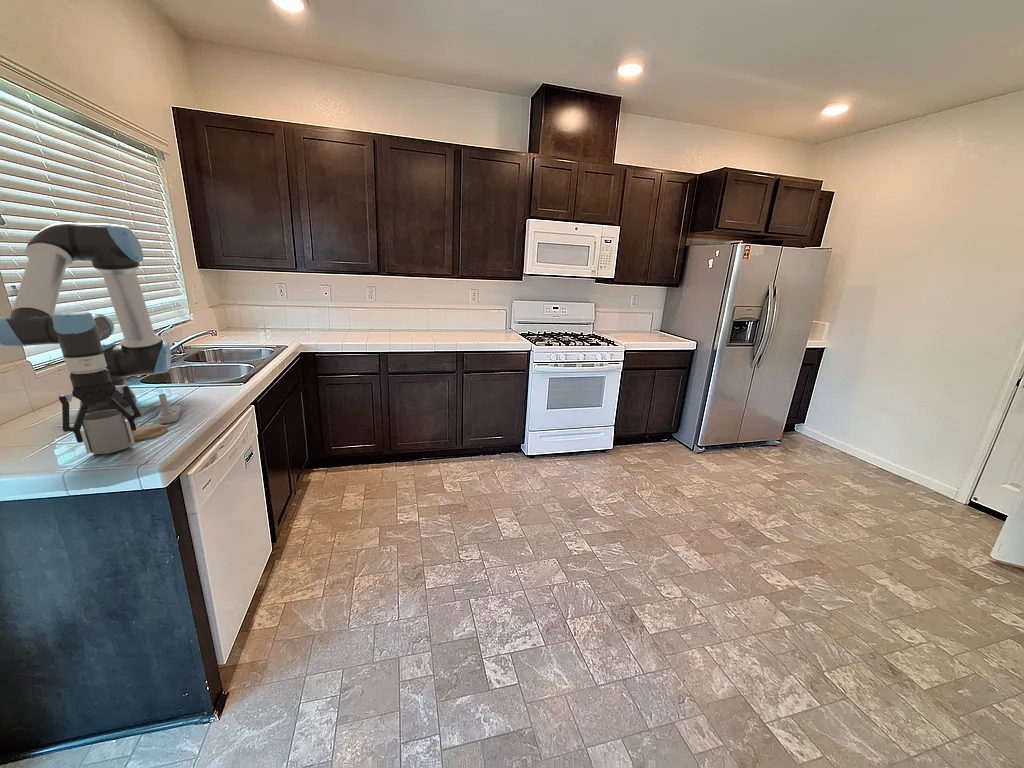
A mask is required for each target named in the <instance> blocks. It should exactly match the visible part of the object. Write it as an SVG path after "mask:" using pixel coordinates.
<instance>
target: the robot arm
mask: <svg viewBox="0 0 1024 768" xmlns="http://www.w3.org/2000/svg"><path fill="white" fill-rule="evenodd" d="M138 239H139V238H137V236H136V234H135V233H134V231H133V230H132V229H131V228H129V227H128V226H126V225H120V224H112V223H92V222H91V223H90V222H87V223H86V222H69V221H68V222H67V221H66V222H57V223H54V224H50V225H49V226H46V227H44V228H43V229H41V230H40V231H38V232H37V233H36V234H35V235H34V236H32V237H31V239H30V240H29V241H28V243H27V245H26V248H25V256H26V258H28V259H27V263H26V265H25V268H24V273H23V275H22V278H21V282H20V284H19V288H18V291H17V294H16V296H15V297H16V298H15V300H14V303H13V307H12V310H11V312H10V315H9V316H8V317H7V316H4V317H0V345H1V346H5V347H27V346H41V345H42V346H43V345H54V344H55V345H59V347H60V351H61V353H62V356H63V361H64V363H65V366H66V369H67V371H68V372H70V373H69V375H68V376H69V379H70V382H71V384H72V385H71V386H72V391H71V392H69V393H65V394H64V393H61V394H58V400H59V401H60V403H61V412H62V415H61V418H62V423H61V424H62V431H63V432H65V433H68V432H71V433H73V434H74V436H75V440H76V442H77V443H83V444H84V448H85V451H86V453H87V454H92V453H91V451H90V448H89V444H88V441H87V438H86V435H85V432H84V429H83V426H82V423H83V420H84V417H85V415H87V413H93V412H98V411H103V410H118V411H119V412H120V413H122V415H123V417H124V420H125V424H126V428H127V431H128V435H129V438H130V442H131V444H134V443H136V442H134V438H133V434H132V431H135V430H136V427H137V426H136V423H135V420H136V419H138V418H141V417H142V413H141V412H140V410H139V408H138V407H137V405H136V402H138V400H137V396H136V394H135V393H134V391H133V390H132V389H131V387H130V386H129V384H127V382H126V379H125V377H134V376H135V377H136V376H144V375H145V376H146V375H156V374H164V373H167V372H169V370H170V369H171V365H172V364H171V363H172V352H171V346H170V344H169V342H166V341H163V340H162V337H161V336H160V335H158V334H156V333H155V331H154V327H153V325H152V321H151V318H150V315H149V311H148V307H147V303H146V302H145V298H144V295H143V292H142V288H141V286H140V285H141V284H140V281H139V278H138V275H137V272H136V271H137V269H139V267H141V266H140V262H143V260H144V254H143V249H142V246H141V243H140V242H139V240H138ZM76 261H77V262H78V261H79V262H82V261H83V262H84V261H85V262H91V264H92V266H93V269H95V270H97V271H99V272H100V273H101V274H102V278H103V281H104V283H105V287H106V289H107V292H108V295H109V297H110V301H111V304H112V308H113V310H114V312H115V315H116V319H117V321H118V323H119V327H120V330H121V333H122V336H123V338H122V339H121V340H120V342H119V344H118V345H117V343H116V342H115V341H113V340H112V341H109V340H108V341H104V340H107V339H108V338H110V336H112V334H113V333H114V331H115V325H114V322H113V321H112V319H110V318H109V317H108V316H106V315H104V314H102V313H90V312H89V311H81V310H80V311H64V312H58V313H57V312H56V313H55V310H56V307H57V303H58V299H59V295H60V292H61V288H62V285H63V284H62V283H63V280H64V276H65V273H66V269H68V268H70V267H71V266H72V264H73V262H76ZM73 398H76V399H78V400H79V409H78V411H77V414H76V417H75V420H74V423H73V425H71V424H70V402H72V399H73ZM126 407H130V408H131V410H132V412H133V413H132V414H131V413H130V412H128V410H127V409H126Z"/></svg>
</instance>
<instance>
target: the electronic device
mask: <svg viewBox="0 0 1024 768" xmlns="http://www.w3.org/2000/svg"><path fill="white" fill-rule="evenodd" d="M158 399H159V402H160V403H159V404H160V408H161V410H160V411H159V413H158V415H157V416H156V419H157V423H158V424H159V425H164V424H169V423H173V422H176V421H178V420H179V418H180V417H181V415H182V412H183V408H182V405H180V404H173V405H172V404H171V405H169V402H168V399H167V395H166V393H161V394H158Z"/></svg>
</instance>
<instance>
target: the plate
mask: <svg viewBox="0 0 1024 768" xmlns="http://www.w3.org/2000/svg"><path fill="white" fill-rule="evenodd" d="M167 432H168V427H167V425H164V424H160V423H158V424H156V423H155V424H145V425H141V426H136V430H135V431H132V434H133V438H134V442H135V443H136V442H141V441H146V440H150V439H155V438H158V437H159V436H162V435H163V434H165V433H167Z"/></svg>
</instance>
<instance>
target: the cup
mask: <svg viewBox="0 0 1024 768" xmlns="http://www.w3.org/2000/svg"><path fill="white" fill-rule="evenodd" d="M125 420H126V419H125V417H124V416H123V415H122V413H120V412H119V411H118V410H117V409H113V410H103V411H98V412H89V413H86V414H85V417H84V420H83V423H82V426H81V427H82V428H83V429H84V432H85V435H86V438H87V441H88V444H89V448H90V451H91V453H90V454H94V455H103V454H108V453H114V452H117V451H122V450H123V449H126V448H128V447H129V446H131V444H132V443H131V442H130V438H129V435H128V431H127V428H126V424H125Z"/></svg>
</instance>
